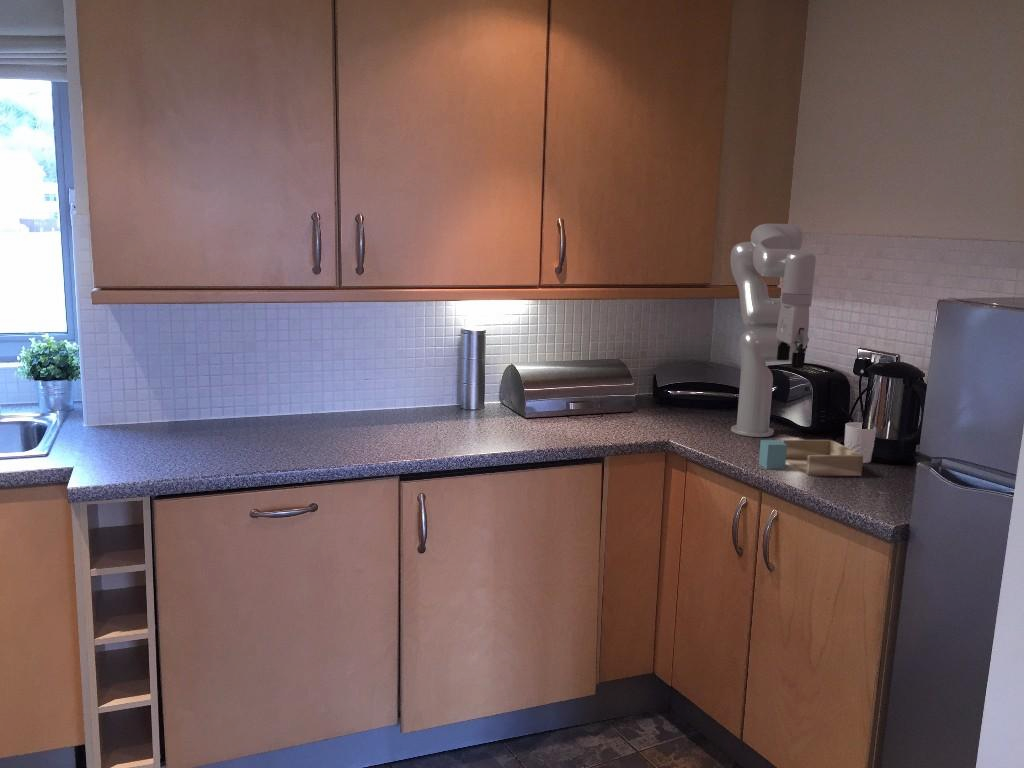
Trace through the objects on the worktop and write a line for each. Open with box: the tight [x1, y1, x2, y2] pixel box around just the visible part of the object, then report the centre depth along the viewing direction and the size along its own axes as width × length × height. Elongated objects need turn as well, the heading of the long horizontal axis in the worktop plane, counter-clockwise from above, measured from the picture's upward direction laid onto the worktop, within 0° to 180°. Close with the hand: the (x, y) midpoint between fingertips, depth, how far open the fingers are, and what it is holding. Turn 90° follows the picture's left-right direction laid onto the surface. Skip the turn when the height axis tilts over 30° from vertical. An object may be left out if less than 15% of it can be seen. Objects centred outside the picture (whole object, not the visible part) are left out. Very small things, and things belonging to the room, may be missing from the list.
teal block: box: [758, 439, 787, 470], centre depth 228 cm, size 5×5×7 cm
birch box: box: [781, 439, 864, 477], centre depth 229 cm, size 17×14×6 cm
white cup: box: [843, 421, 877, 464], centre depth 237 cm, size 8×8×10 cm
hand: (789, 363), depth 234 cm, fingers open, 9 cm apart
